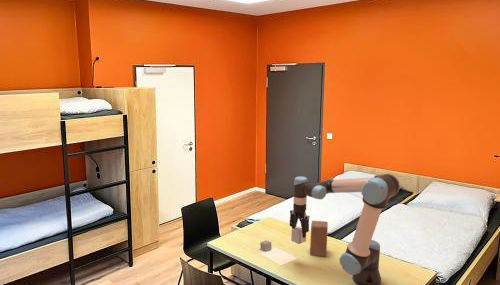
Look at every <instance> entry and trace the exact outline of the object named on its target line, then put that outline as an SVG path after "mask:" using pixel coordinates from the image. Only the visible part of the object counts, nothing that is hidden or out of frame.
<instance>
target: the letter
mask: <svg viewBox="0 0 500 285" xmlns="http://www.w3.org/2000/svg"><path fill="white" fill-rule="evenodd" d="M258 254H259V255H260V256H262V257H264V258H266V259H268V260H270V261H272V262H274V263H276V264H277V265H279V266H283V265H286V264H288V263H290V262H293V261H295V260H297V259H298V257H296V256H293V255H292V254H289V253H288V252H285V251H283V250H282V249H280V248H277V247H276V246H273V247H272V250H270V251H267V252H265V251H261V252H259V253H258Z"/></svg>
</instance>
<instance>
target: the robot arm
mask: <svg viewBox="0 0 500 285" xmlns="http://www.w3.org/2000/svg"><path fill="white" fill-rule="evenodd" d="M400 187H401V186H400V181H399V179H398V178H397V177H396V176H395V175H393V174H389V173H385V174H378V175H377V174H376V175H374V176H373V177H361V178H360V177H359V178H357V177H356V178H342V179H341V178H339V179H334V178H329V179H326V180H322V181H320V182H316V183H312V182H309V181H308V178H307V176H301V175H299V176H296V177H294V182H293V205H292V206H293V209H291V210H290V211H289V226H290V227H291V230H292V229H295V228H298V227H297V224H298V220H299V222H300V228H302V232H301V244H303V243H306V242H305V237H306V238H307V233H308V232H309V233H310V215H307V213H306V210H307V197H309V198H313V199H314V200H315V199H316V200H323V199H324V198H326V196H327V195H328V194H337V193H338V194H339V193H341V194H342V193H343V194H344V193H346V194H347V193H361V195H362V203H363V206H362V209H361V213H360V216H359V219H358V222H357V225H356V228H355V232H354V235H353V237H352V239H351V240H352V241H351V242H348V244H347V245H346V246H347V247H346V250H345V251H344V252H343V253H342V254H341V255H340V257H339V263H340V266H341V269H343V271H344V272H346V273H347V274H349V275H352V280H353V282H354V283H355V284H356V285H381V284H382V277H381V273H380V269H379V268H380V267H379V266H380V256H381V255H380V254H381V253H380V252H381V244H380V243H379V242H378V241H376V240H374V239H373V238H374V234H375V231H376V228H377V224H378V222H379V220H380V217H381V214H382V211H383V210H385V209H386V208H387V206H388V203H389V201H390V199H391V198H392V197H394V196H396V195H397V194H398V192H399V191H400Z"/></svg>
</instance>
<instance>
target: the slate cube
mask: <svg viewBox="0 0 500 285" xmlns="http://www.w3.org/2000/svg"><path fill="white" fill-rule="evenodd" d="M301 232H302V228H301V226H300V227H299V226H298V227H295V229H292V228H291V242H294V243H296V244H298V245H301V244H302V243H301ZM306 242H307V236H306V237H305V242H304V243H306Z"/></svg>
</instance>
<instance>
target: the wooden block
mask: <svg viewBox="0 0 500 285" xmlns="http://www.w3.org/2000/svg"><path fill="white" fill-rule="evenodd" d="M328 226H329V224H328V221H324V220H322V221H321V220H311V225H310V243H309V244H310V246H309V247H310V248H309V251H310V252H309V255H310V256H315V257H323V258H326V256H327V248H328V245H327V244H328Z"/></svg>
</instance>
